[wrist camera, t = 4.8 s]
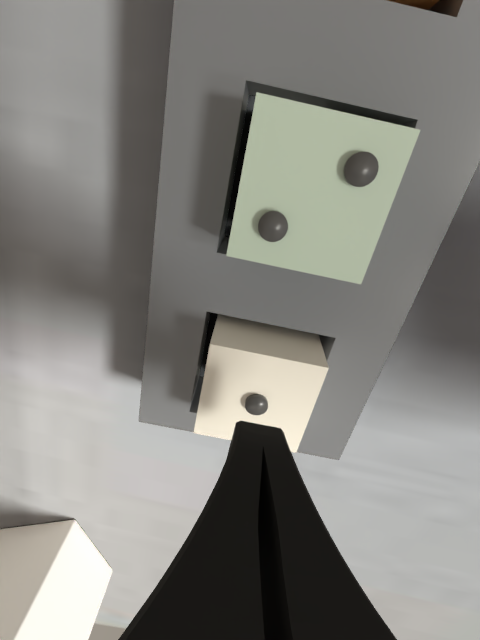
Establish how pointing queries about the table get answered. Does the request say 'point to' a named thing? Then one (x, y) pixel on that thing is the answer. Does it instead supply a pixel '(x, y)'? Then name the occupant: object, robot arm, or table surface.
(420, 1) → the button three orange
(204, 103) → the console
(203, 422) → the button one cream
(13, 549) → the milk
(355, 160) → the button two sage
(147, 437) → the table surface
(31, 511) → the table surface
